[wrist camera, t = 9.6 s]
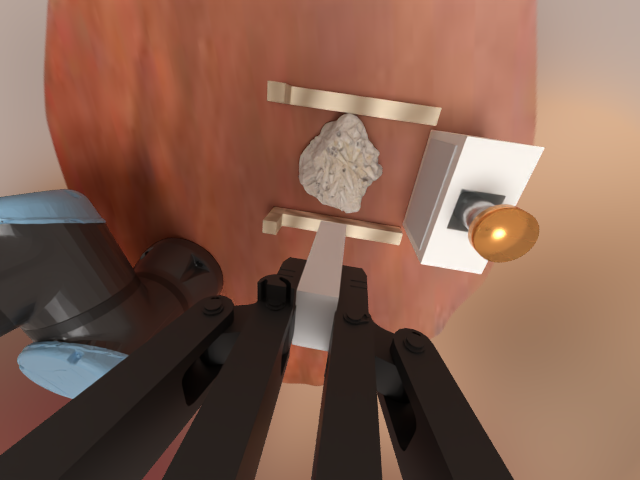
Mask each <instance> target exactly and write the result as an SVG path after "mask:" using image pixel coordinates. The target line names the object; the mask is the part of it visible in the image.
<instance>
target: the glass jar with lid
mask: <svg viewBox="0 0 640 480" xmlns="http://www.w3.org/2000/svg"><path fill="white" fill-rule="evenodd" d="M452 214H453V215H454V216H455V217H456V218H457V219H458V220H459V221H460V222H461V223H462V224H463V225H464V226H465V227H466V228H467V229H468V240H469V242H470V244H471V246H472V247H473V248H474V249H475V250H476V251H477V252H478V253H479V255H480V256H481V257H483V258H484V259H486V260H489V261H492V262H508V261H512V260H515V259H517V258H519V257H521V256H523V255H524V254H525V253H527V252H528V251H529V250H530V249H531V248H532V247H533V246H534V244H535V243H536V241H537V239H538V236H539V225H538V222H537V220H536V219H535V218H534V217H533V216H532V215H530V214H529V213H527V212H525V211H524V210H522V209H520V208H518V207H516V206H514V205H509V204H501V205H494V204H492V203H491V202H489V201H487V200H486V199H484V198H483V197H481V196H479V195H478V194H476V193H474V192H470V191H467V192H463V193H460V195H459V198H458V200H457V203H456V205H455V208H454V210H453V213H452Z"/></svg>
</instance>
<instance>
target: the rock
mask: <svg viewBox="0 0 640 480" xmlns="http://www.w3.org/2000/svg"><path fill="white" fill-rule="evenodd" d="M379 154H380V153H379V151H378V150H377V149H376V148H375V147H374V146H373V144H372V143H371V142H370V141H369V139H368V136H367V133H366V130H365V127H364V125H363V123H362V122H361V120H360V119H359V118H358V117H357V116H355V115H353V114H351V113H347V114H344V115H342V116H341V117H339V118H338V120H337V121H332V122H329V123H326V124H325V125H324V126H323V127H322V130H321V133H320V135H319V136H316V137H315V139H313V140H312V141H311V142H310V144H309V145H308V146H307V147H306V149H305V150H304V151H303V153H302V154H301V156H300V161H299V173H300V174H299V176H298V177H299V180H300V183H301V184H302V185H303V187H304V189H305V191H306V192H307V193H308V194H310V195H313V196H314V197H316V198H317V199H318V200H319V201H320V202H321V203H322V204H323V205H329V206H331V207H334V208H338V209H340V210H341V211H345V212H346V213H353V212H357V211H359V209H360V207H361V205H360V203H361V198H362V196H364V195H365V192H366V189H367V187H368V186H370V185H371V184H372V181H375V180H377V179H378V178H379V177H380V176H381V175H382V169H383V168H382V166H381V165H379V164H378V156H379Z"/></svg>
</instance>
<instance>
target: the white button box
mask: <svg viewBox="0 0 640 480" xmlns="http://www.w3.org/2000/svg"><path fill="white" fill-rule="evenodd" d="M543 150H544V147H538V146H532V145H526V144H520V143H514V142H508V141H502V140H496V139H490V138H484V137H478V136H471V135H464V134H458V133H451V132H444V131H438V130H431V132H430V135H429V138H428V142H427V145H426V148H425V151H424V155H423V158H422V161H421V165H420V168H419V171H418V175H417V178H416V181H415V185H414V188H413V191H412V194H411V198H410V201H409V204H408V208H407V211H406V214H405V218H404V221H403V224H402V225H403V227H404V229H405V231H406V233H407V235H408V238H409V240H410V242H411V244H412V246H413V248H414V250H415V253H416V255H417V257H418V259H419V261H420V263H421V264H425V265H431V266H437V267H442V268H448V269H454V270H460V271H466V272H472V273H478V274H482V272H483V270H484V268H485V266H486V264H487V262H488V260H486V259H484V258H483V257H481V256H480V255H479V253H478V252H477V251H476V250H475V249H474V248H473V247H472V246H471V244H470V242H469V240H468V229H467V228H466V227H465V226H464V225H463V224H462V223H461V222H460V221H459V220H458V219H457V218H456V217H455V216H454V215H453V214H452V213H453V210H454V208H455V205H456V203H457V200H458V198H459V195H460V193H463V192H467V191H470V192H474V193H476V194H478V195H479V196H481V197H483V198H484V199H486V200H487V201H489V202H491V203H492V204H494V205H501V204H509V205H514V206H516V204H517V202H518V200H519V198H520V196H521V194H522V192H523V190H524V188H525V186H526V184H527V182H528V180H529V178H530V176H531V174H532V172H533V170H534V168H535V166H536V164H537V162H538V160H539V158H540V156H541V154H542V152H543Z"/></svg>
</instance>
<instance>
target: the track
mask: <svg viewBox="0 0 640 480" xmlns="http://www.w3.org/2000/svg"><path fill="white" fill-rule="evenodd" d="M267 101H272V102H278V103H284V104H291V105H298V106H304V107H311V108H318V109H325V110H331V111H338V112H345V113H352V114H358V115H365V116H372V117H378V118H385V119H392V120H399V121H405V122H412V123H419V124H426V125H433V126H436V124H437V121H438V118H439V115H440V111H441V108H438V107H431V106H424V105H417V104H410V103H403V102H397V101H390V100H383V99H376V98H369V97H362V96H355V95H349V94H342V93H335V92H328V91H321V90H314V89H307V88H300V87H294V86H290V85H288V84H286V83H281V82H274V81H268V90H267ZM321 221H327V222H333V223H340V224H346V225H347V226H346V235H345V236H347V237H353V238H359V239H365V240H371V241H377V242H383V243H389V244H395V245H399V244H400V241H401V238H402V235H403V233H402V231H401V228H400V227H396V226H390V225H384V224H378V223H372V222H366V221H360V220H353V219H347V218H341V217H335V216H329V215H323V214H317V213H311V212H305V211H299V210H293V209H287V208H280V207H274V208H273V209H272V210H271V211H270V212H269V213H268V215H267V216H266V217H265V218H264V219H263V233H268V234H274V235H276V234H277V233H278V231H279V229H280V228H281V226H287V227H293V228H299V229H305V230H311V231H318V228H319V225H320V222H321Z"/></svg>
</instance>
